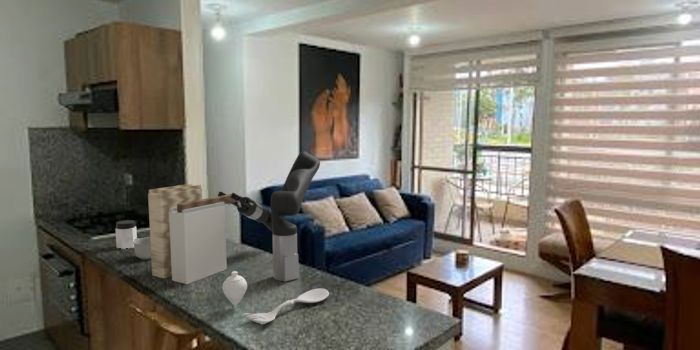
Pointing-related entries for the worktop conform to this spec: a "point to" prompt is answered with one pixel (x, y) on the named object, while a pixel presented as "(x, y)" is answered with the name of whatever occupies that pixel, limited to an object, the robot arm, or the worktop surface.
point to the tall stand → (166, 222)
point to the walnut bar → (205, 202)
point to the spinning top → (234, 288)
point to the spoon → (306, 297)
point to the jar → (125, 234)
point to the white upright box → (197, 242)
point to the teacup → (142, 248)
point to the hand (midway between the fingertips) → (225, 194)
